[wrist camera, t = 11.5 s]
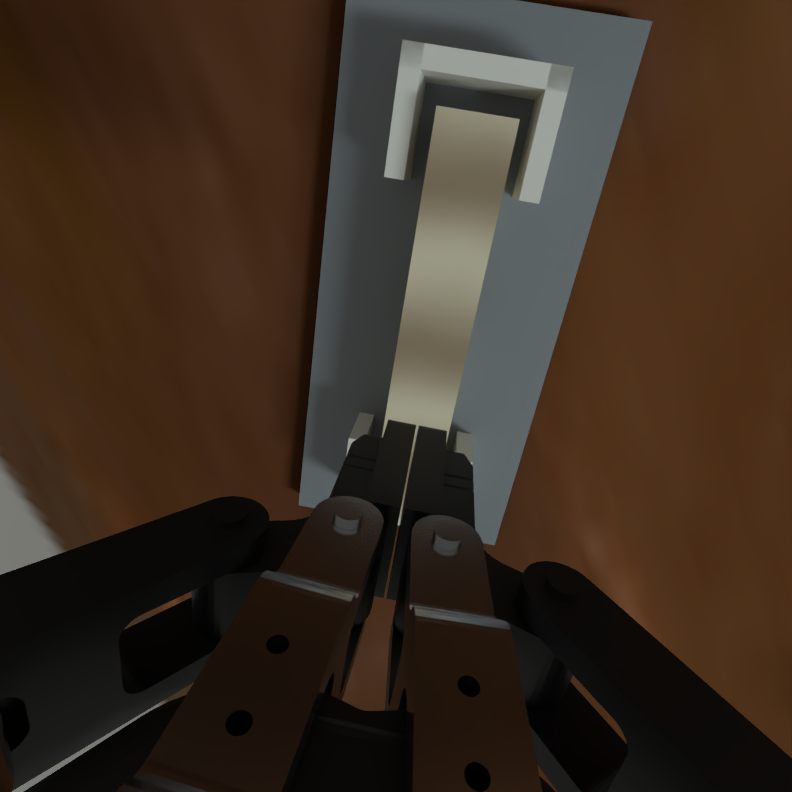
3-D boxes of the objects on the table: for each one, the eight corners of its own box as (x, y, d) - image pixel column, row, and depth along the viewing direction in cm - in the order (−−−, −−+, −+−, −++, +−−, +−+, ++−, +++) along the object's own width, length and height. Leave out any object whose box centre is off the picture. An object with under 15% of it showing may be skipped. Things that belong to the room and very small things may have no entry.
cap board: (353, -18, 21) (330, -57, 18) (644, 27, 21) (682, -3, 17) (303, 495, 32) (282, 537, 28) (493, 534, 31) (497, 582, 28)
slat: (440, 116, 22) (436, 105, 18) (510, 128, 22) (519, 119, 18) (381, 469, 29) (369, 511, 26) (432, 479, 29) (428, 523, 26)
